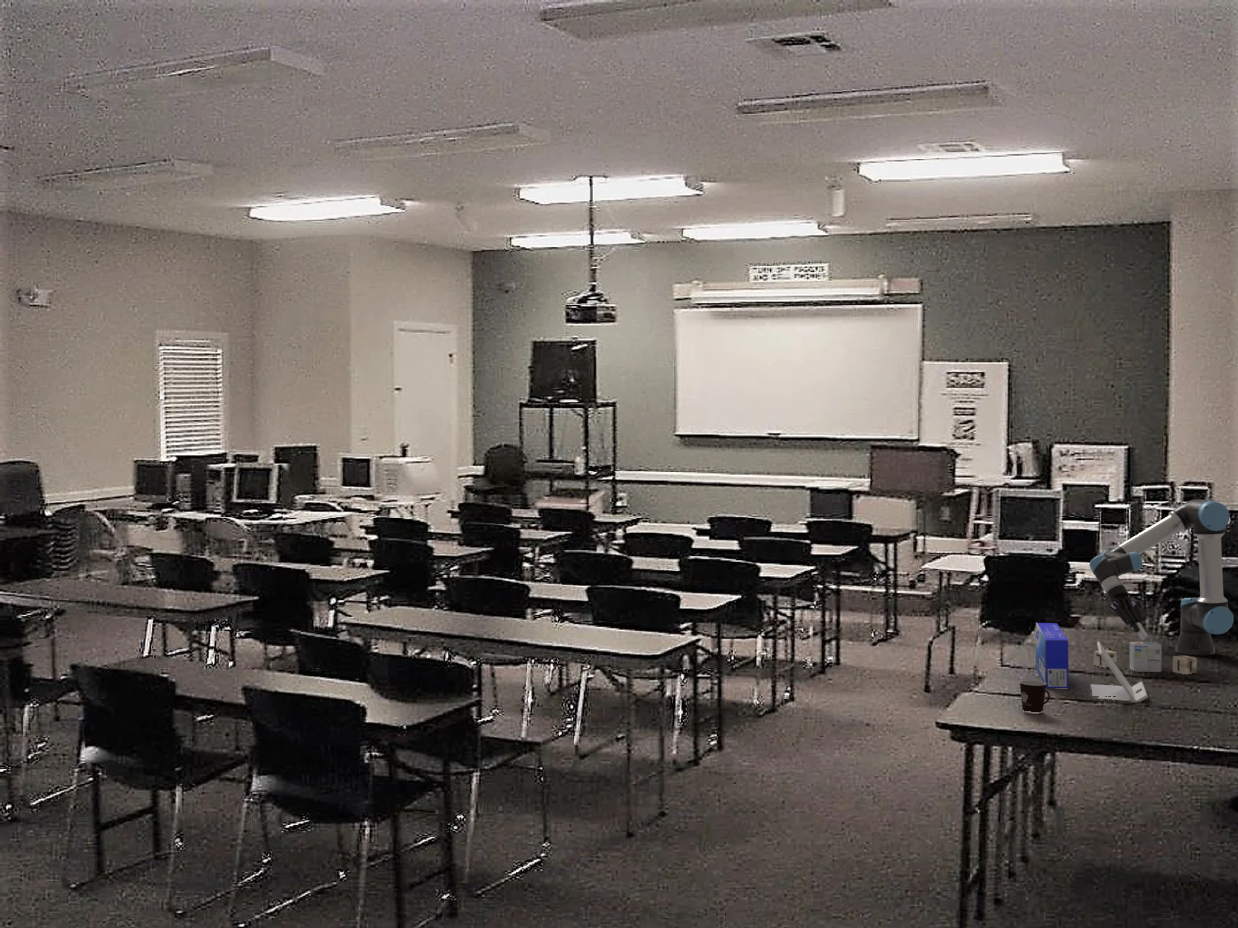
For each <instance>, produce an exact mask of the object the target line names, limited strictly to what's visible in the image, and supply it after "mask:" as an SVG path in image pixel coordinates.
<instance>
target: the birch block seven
mask: <svg viewBox="0 0 1238 928" xmlns="http://www.w3.org/2000/svg"><path fill="white" fill-rule="evenodd" d="M1105 650H1106V652H1107V653H1108V654H1109V656H1110V657H1111V659H1112V660H1113V662H1114V663H1115V664H1116V665H1117V651H1112V650H1108V649H1105ZM1094 665H1096V666H1095V667H1097V666H1099V667H1098V668H1101V667H1104V668H1103V669H1107V668H1106V667H1109V666H1108V665H1107V664H1106V662H1105V661H1104V659H1103V658H1102V656H1101V655H1100V653H1099V650H1093V666H1094Z"/></svg>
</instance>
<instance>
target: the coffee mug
mask: <svg viewBox="0 0 1238 928" xmlns="http://www.w3.org/2000/svg"><path fill="white" fill-rule="evenodd" d="M1046 684H1047V683H1045V682H1043V681H1042V680H1033V679H1032V680H1031V679H1027V680H1026V679H1025V680H1020V681H1019V688H1020V689H1019V690H1020V697H1021V699H1020V701H1021V707H1022V711H1023V710H1024V711H1031V712H1041V711H1043V712H1044V706H1045V705H1046V704H1047V703H1048V702H1050V699H1051V694H1050V692H1049V691H1048V689H1046ZM1046 694H1047V699H1046V701H1045V698H1046Z"/></svg>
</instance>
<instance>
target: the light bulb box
mask: <svg viewBox="0 0 1238 928" xmlns="http://www.w3.org/2000/svg"><path fill="white" fill-rule="evenodd" d="M1129 669H1130V670H1131V671H1132V670H1133V671H1132V672H1134V671H1135V672H1136V673H1139V672H1143V673H1146V672H1147V673H1148V672H1149V673H1161V672H1162V644H1161V643H1158V642H1157V641H1154V642H1153V641H1129Z"/></svg>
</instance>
